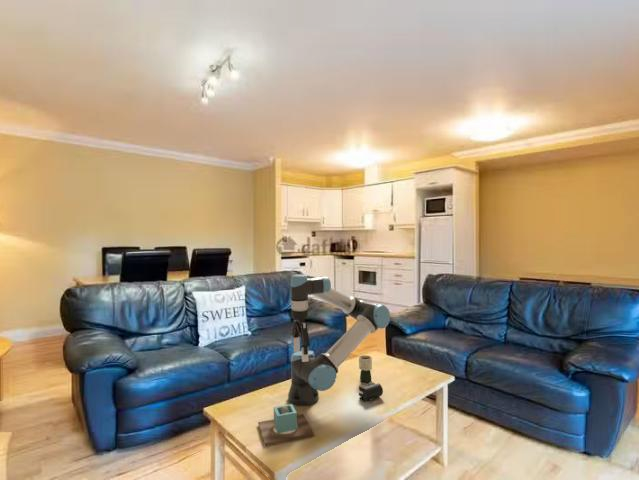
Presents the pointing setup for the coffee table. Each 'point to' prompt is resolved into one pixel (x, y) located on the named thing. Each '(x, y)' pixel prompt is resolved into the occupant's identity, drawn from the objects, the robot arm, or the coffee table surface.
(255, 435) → the coffee table surface
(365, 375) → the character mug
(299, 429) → the post stand
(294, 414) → the teal ring
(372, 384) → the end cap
